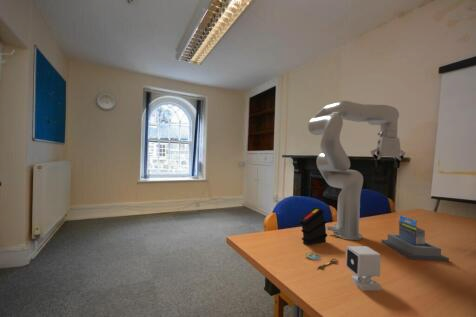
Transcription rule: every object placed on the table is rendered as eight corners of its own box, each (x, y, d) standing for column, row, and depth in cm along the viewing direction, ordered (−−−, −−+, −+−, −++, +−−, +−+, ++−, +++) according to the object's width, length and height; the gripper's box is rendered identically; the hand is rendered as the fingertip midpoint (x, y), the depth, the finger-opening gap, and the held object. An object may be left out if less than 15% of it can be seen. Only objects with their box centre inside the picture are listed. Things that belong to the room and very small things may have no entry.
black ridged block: (331, 237, 97) (322, 207, 94) (312, 255, 92) (301, 224, 89) (324, 234, 101) (315, 206, 98) (305, 251, 95) (295, 221, 92)
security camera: (345, 279, 66) (346, 245, 66) (367, 278, 67) (368, 245, 67) (358, 291, 60) (359, 254, 60) (382, 291, 60) (383, 254, 60)
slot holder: (409, 259, 82) (410, 247, 82) (381, 242, 99) (381, 232, 99) (448, 261, 81) (449, 249, 81) (413, 243, 98) (414, 234, 98)
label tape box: (425, 252, 86) (426, 220, 86) (415, 252, 85) (416, 220, 85) (406, 243, 94) (407, 215, 94) (397, 243, 94) (398, 214, 94)
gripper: (375, 133, 113) (374, 167, 113) (410, 134, 113) (409, 168, 113) (367, 135, 121) (366, 166, 121) (400, 136, 120) (399, 167, 120)
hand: (387, 167), depth 117 cm, fingers open, 9 cm apart
